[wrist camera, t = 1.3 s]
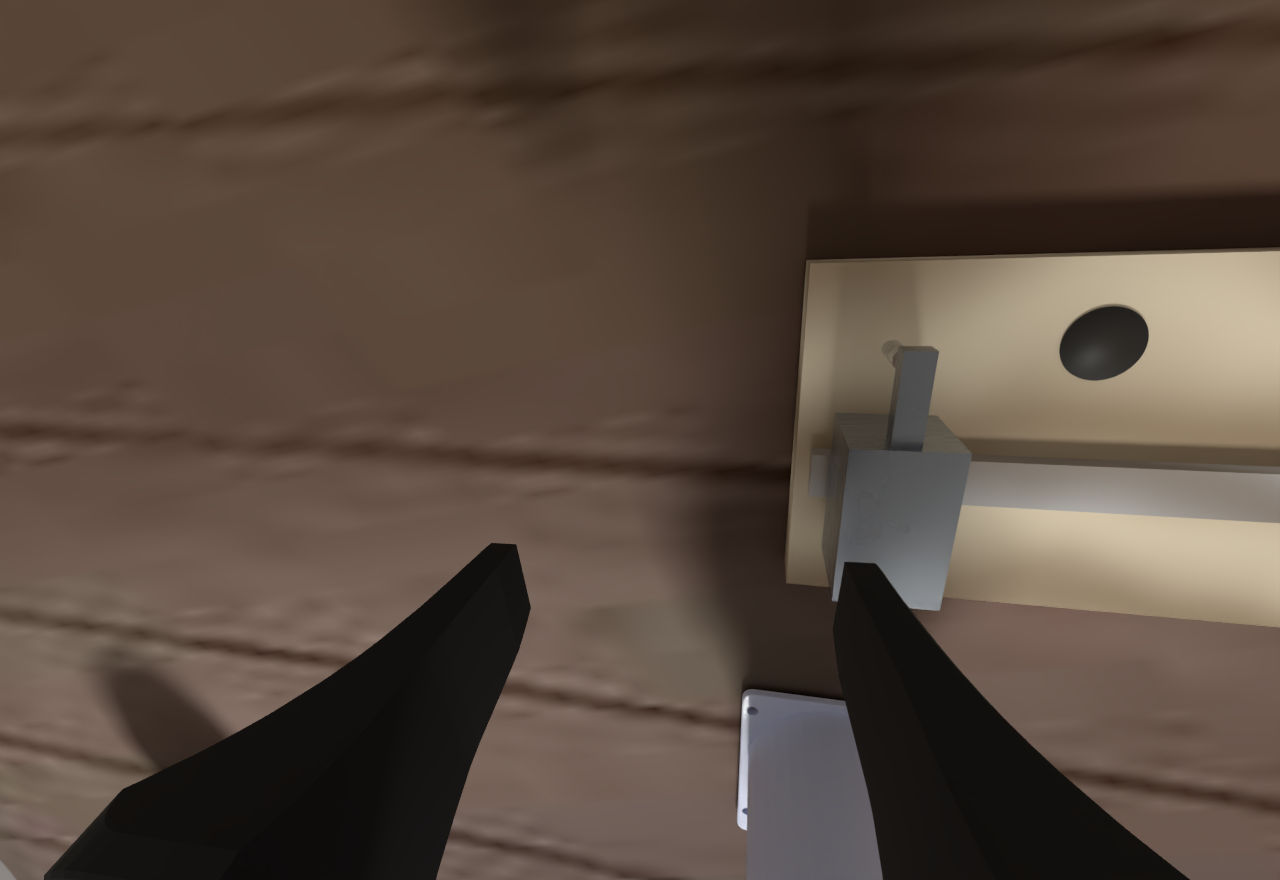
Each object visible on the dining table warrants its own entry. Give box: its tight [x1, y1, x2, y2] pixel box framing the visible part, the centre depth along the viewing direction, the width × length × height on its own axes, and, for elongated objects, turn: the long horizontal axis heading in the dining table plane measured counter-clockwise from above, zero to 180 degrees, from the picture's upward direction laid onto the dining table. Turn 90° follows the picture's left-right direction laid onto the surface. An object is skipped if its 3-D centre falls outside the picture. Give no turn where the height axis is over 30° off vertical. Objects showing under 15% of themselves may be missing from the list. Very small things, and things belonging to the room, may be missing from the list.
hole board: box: [785, 247, 1280, 627], centre depth 16 cm, size 12×23×5 cm, turn 93°
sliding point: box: [821, 340, 972, 611], centre depth 16 cm, size 8×3×4 cm, turn 2°
